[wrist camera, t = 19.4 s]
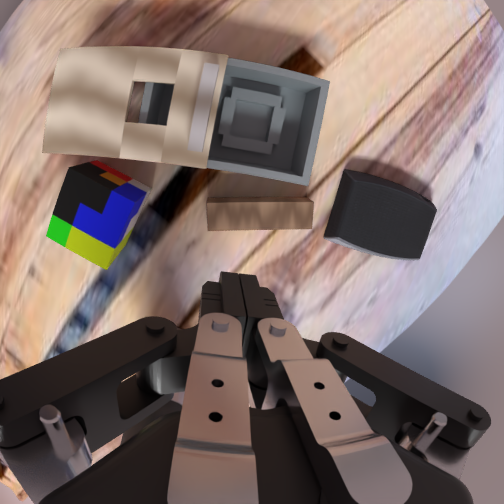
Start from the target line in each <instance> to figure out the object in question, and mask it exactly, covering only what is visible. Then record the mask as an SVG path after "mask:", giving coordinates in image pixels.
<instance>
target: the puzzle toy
mask: <svg viewBox="0 0 504 504" xmlns="http://www.w3.org/2000/svg"><path fill="white" fill-rule="evenodd" d="M151 189H152V188H150V187H148V186H146V185H144V184H142V183H140V182H138V181H136V180H134V179H132V178H131V177H129V176H127V175H125V174H123V173H121V172H119V171H117V170H115V169H113V168H111V167H109V166H107V165H106V164H104V163H102V162H100V161H98V160H96V161H92V162H88V163H84V164H80V165H76V166H73V167H69V169H68V171H67V174H66V177H65V179H64V182H63V185H62V188H61V190H60V193H59V196H58V199H57V202H56V205H55V208H54V211H53V214H52V218H51V221H50V224H49V228H48V231H47V235H46V236H47V237H48V238H50V239H52V240H53V241H55V242H57V243H59V244H60V245H62V246H64V247H66V248H67V249H69V250H71V251H73V252H74V253H76V254H78V255H80V256H81V257H83V258H85V259H87V260H89V261H91V262H92V263H94V264H96V265H98V266H100V267H102V268H103V269H105V270H107V269H108V267H109V266H110V265H111V263H112V262H113V261H114V259H115V258H116V257H117V255H118V254H119V253H120V251H121V250H122V249H123V248H124V246H125V245H126V243H127V241H128V238H129V236H130V234H131V232H132V229H133V227H134V225H135V223H136V221H137V219H138V216H139V214H140V212H141V210H142V208H143V206H144V204H145V202H146V200H147V198H148V195H149V193H150V191H151Z"/></svg>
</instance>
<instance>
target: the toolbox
mask: <svg viewBox="0 0 504 504" xmlns="http://www.w3.org/2000/svg"><path fill="white" fill-rule="evenodd" d="M329 84H330V81H327V80H324V79H320V78H317V77H313V76H310V75H306V74H302V73H299V72H295V71H291V70H287V69H283V68H278V67H274V66H269V65H265V64H260V63H255V62H250V61H245V60H239V59H233V58H228V61H227V65H226V70H225V74H224V79H223V84H222V88H221V93H220V98H219V103H218V108H217V113H216V118H215V123H214V128H213V134H212V139H211V145H210V150H209V156H208V161H207V167H206V168H211V169H217V170H224V171H230V172H236V173H242V174H248V175H253V176H259V177H264V178H270V179H275V180H280V181H285V182H290V183H295V184H300V185H305V186H308V184H309V180H310V176H311V171H312V166H313V162H314V157H315V153H316V148H317V143H318V139H319V134H320V129H321V124H322V119H323V114H324V109H325V104H326V99H327V94H328V89H329ZM174 85H175V84H165V83H153V82H146V84H145V89H144V94H143V99H142V104H141V110H140V115H139V121H138V123H143V124H154V125H163V126H167V121H168V115H169V110H170V105H171V100H172V95H173V90H174Z"/></svg>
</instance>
